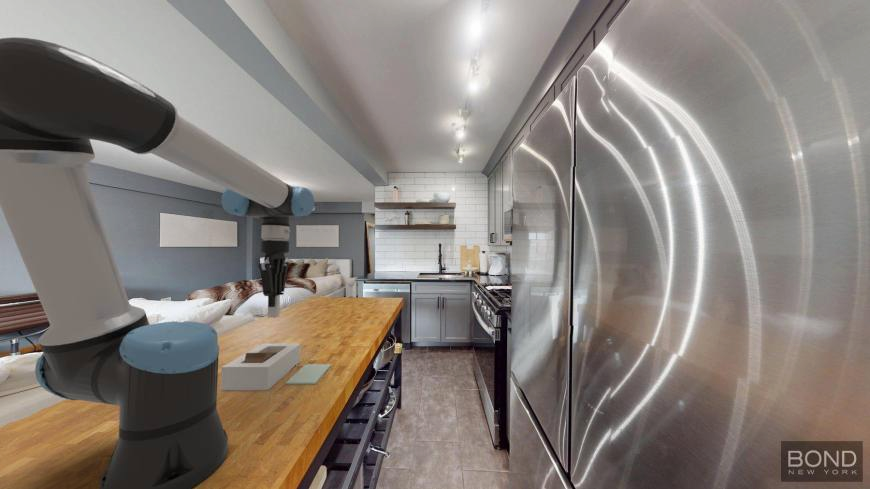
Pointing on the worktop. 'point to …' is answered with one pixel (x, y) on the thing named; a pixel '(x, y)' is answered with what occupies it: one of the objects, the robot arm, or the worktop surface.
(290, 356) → the pocket block
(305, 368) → the sage mat
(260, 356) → the walnut bar
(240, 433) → the worktop surface
